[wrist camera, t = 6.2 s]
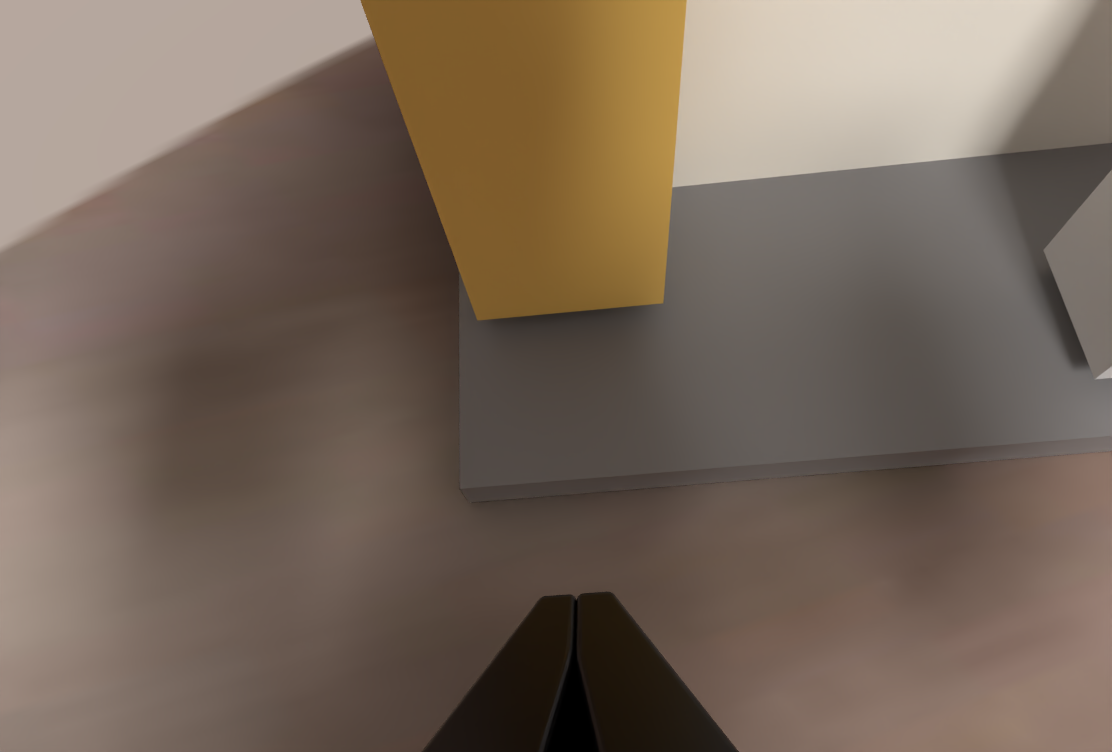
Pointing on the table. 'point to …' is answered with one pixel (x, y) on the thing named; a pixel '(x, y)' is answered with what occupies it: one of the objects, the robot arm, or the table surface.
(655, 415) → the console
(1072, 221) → the light grey block
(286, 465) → the table surface
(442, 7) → the amber block
